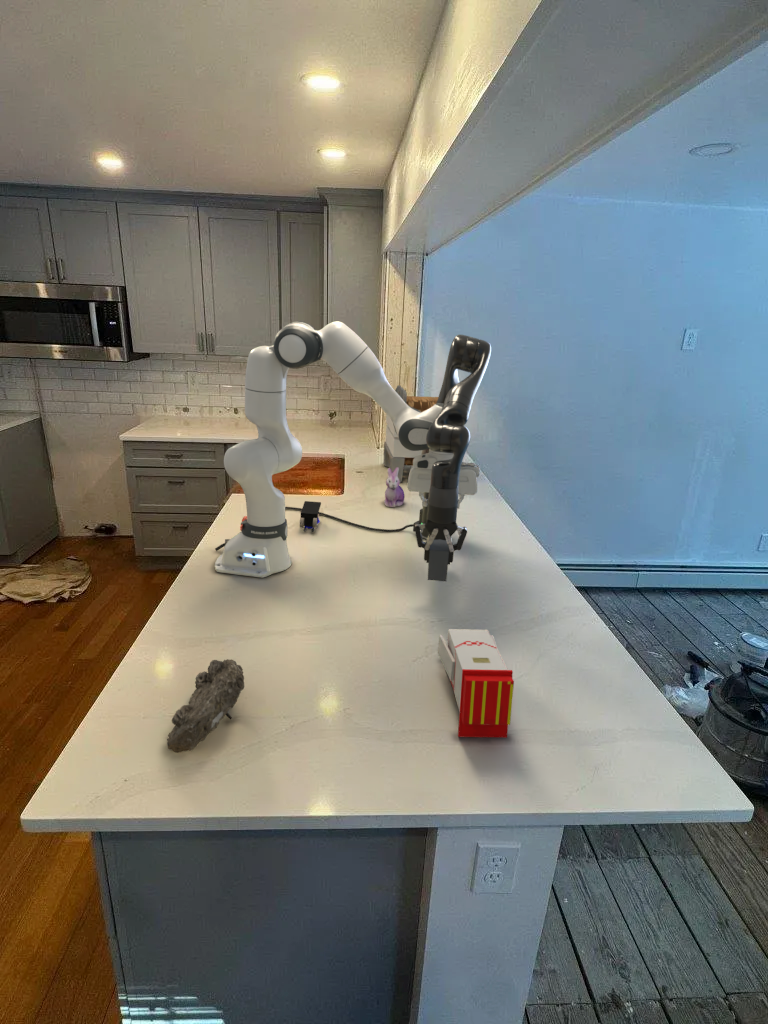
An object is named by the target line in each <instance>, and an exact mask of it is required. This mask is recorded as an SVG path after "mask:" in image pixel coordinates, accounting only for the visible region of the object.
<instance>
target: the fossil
mask: <svg viewBox="0 0 768 1024" xmlns="http://www.w3.org/2000/svg"><path fill="white" fill-rule="evenodd" d="M243 670H244V669H243V667H242V665H240V664H237V662H236V661H235V660H234V659H232V658H231V659H227V658H226V659H224V660H223V661H222V660H217V659H212V660H211V661H210V663H209V665H208V666H207V671H201V672H199V673H198V674H197V675H196V676H195V680H194V684H195V685H194V687H195V689H194V690H193V693H192V694H191V697H190V698H189V700H188V704H184V705H182V706H181V707H180V709H177V710H176V711H175V713H174V715H173V716H172V718H171V723H172V724H173V727H172V730H171V731H170V732H168V734H167V738H166V741H167V742H166V745H167V749H168V750H169V751H173V752H174V753H176V754H178V753H182V752H188V751H189V752H192V751H193V750H195V748H196V747H197V746H199V744H200V743H201V742H203V741H204V740H205V739H206V738H207V737H208V736H209V735H210V734H211V733H212V732H214V730H215V729H217V727H218V726H219V724H220V722H221V721H222V720H223V719H224V718H225V716H226V717H227V719H229V720H233V717H232V715H230V714H229V710H230V709H231V708H234V706H235V704H236V703H237V702H238V699H239V697H240V695H241V693H242V691H243V690H245V689H244V688H245V675H244V671H243Z"/></svg>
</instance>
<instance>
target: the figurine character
mask: <svg viewBox="0 0 768 1024" xmlns="http://www.w3.org/2000/svg"><path fill="white" fill-rule="evenodd" d="M321 506H322V502H321V501H310V500H309V501H308V500H304V502H303V504H302V507H301V508H302V510H300V520H299V528H301V529H303V532H304V533H305V532H306V531H307V529H311V533H313V532H315V529H317V528H318V525H319V523H320V522H321V520H320V514H319V512H320V509H321Z"/></svg>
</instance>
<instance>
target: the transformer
mask: <svg viewBox="0 0 768 1024" xmlns="http://www.w3.org/2000/svg"><path fill="white" fill-rule="evenodd" d="M394 390H395V391H396V392H397V393H398V395H399V396H400V397H401V398H402V399H403V400H404V402H405V403H406V404H408V405H409V406H410V407H413V408H415V409H417V410H419V411H421V412H423V411H425V410H427V409H429V408H431V407H432V406H434V405H435V404H436V403H437V400H438V397H439V396H415V395H414V396H413V395H412V396H411V395H407V394H408V393H407V390H406V389H404V388H403V387H402V385H399V384H398V385H397V386H396V388H395V389H394ZM385 414H386V413H385ZM385 423H386V428H385V438H384V442H383V466H384V467H388V468H390V469H391V471H392V472H394V470H395V469H396V468H397V467H398V468H399V471H398V475H397V476H398V479H399V481H400V483H402V482H403V475H404V469H405V466H406V467H407V466H411V467H412V466H413V459H414V457H415V456H418V455H421V454H422V450H419V451H411V450H408V449H406V448H405V447H404V446H403V445H402V444H401V443H400V441H399V438H398V436H397V434H396V432H395V428H394V425H393V422H392V420H391V419H390V417H389V416H388V415H387V414H386V415H385Z"/></svg>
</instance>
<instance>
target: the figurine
mask: <svg viewBox="0 0 768 1024" xmlns="http://www.w3.org/2000/svg"><path fill="white" fill-rule="evenodd" d="M398 471H399V468H398V467H397V468H396V469H395V470H394V472H392V471H391V469H390V467H388V468H387V478H386V479H385V484H386V485H385V486H386V489H385V492H384V498H385V499H384V501H383V503H384V505H385V507H389V508H395V507H400V506H403V505H404V502H405V490H404V489H403V487H402V486H401V485H400V484H401V482H400V481H399V479H398V476H397V475H398Z"/></svg>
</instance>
